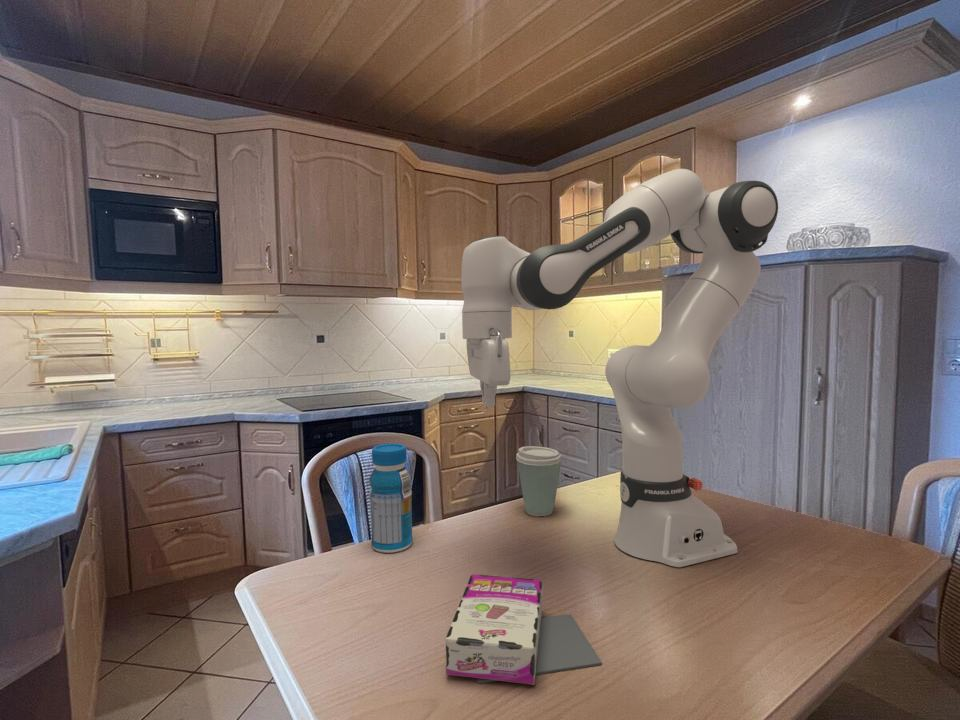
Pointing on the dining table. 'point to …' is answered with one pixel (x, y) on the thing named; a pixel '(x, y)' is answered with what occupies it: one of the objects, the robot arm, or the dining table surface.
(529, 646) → the candy bar box
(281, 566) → the dining table surface
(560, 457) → the disposable coffee cup
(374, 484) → the beverage bottle
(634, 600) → the dining table surface
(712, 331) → the robot arm
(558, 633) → the mat
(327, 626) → the dining table surface
